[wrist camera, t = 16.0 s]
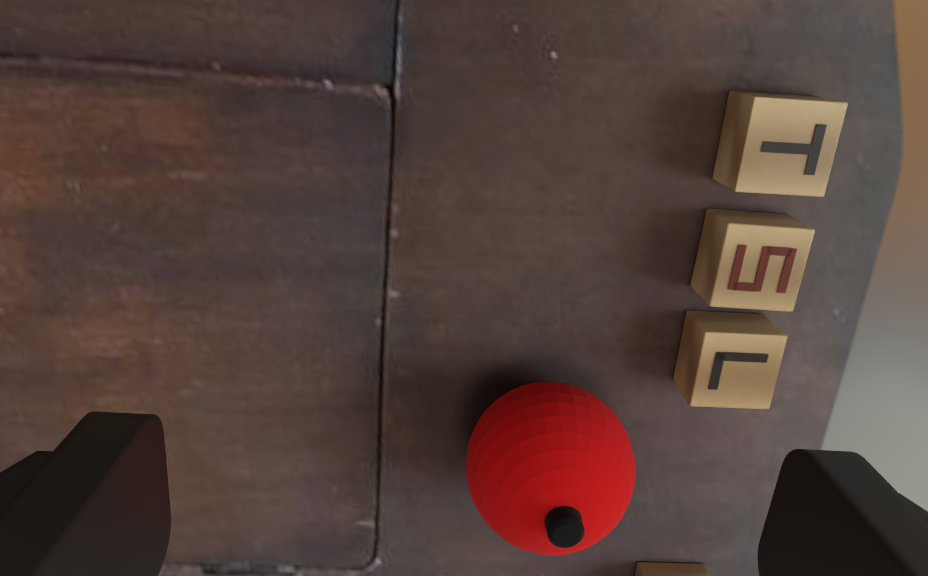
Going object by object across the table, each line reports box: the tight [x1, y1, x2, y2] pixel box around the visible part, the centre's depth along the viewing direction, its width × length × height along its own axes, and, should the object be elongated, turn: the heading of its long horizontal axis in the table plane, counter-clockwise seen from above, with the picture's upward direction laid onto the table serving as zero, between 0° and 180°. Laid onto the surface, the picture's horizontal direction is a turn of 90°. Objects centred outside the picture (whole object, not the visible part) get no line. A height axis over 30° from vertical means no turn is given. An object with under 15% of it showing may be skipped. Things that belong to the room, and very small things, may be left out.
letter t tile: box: [713, 91, 848, 197], centre depth 34 cm, size 4×4×3 cm
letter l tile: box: [673, 310, 787, 409], centre depth 39 cm, size 4×4×3 cm
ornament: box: [466, 382, 635, 555], centre depth 37 cm, size 9×9×10 cm
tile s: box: [690, 208, 815, 312], centre depth 36 cm, size 4×4×3 cm
